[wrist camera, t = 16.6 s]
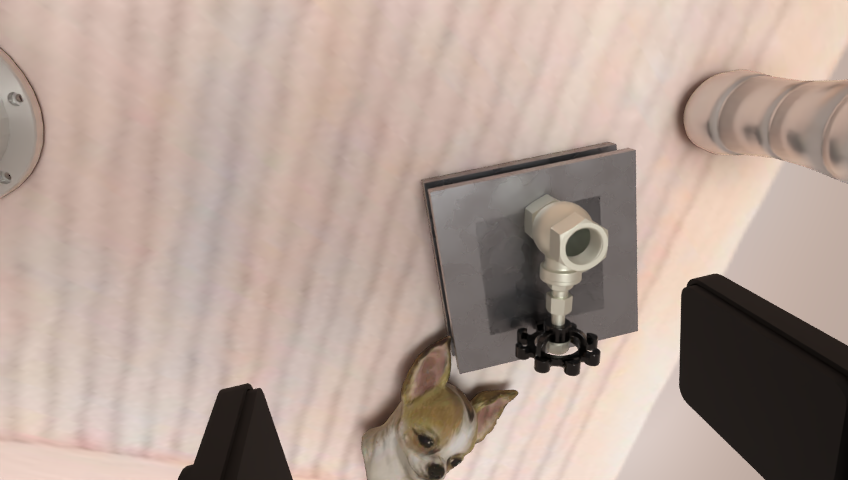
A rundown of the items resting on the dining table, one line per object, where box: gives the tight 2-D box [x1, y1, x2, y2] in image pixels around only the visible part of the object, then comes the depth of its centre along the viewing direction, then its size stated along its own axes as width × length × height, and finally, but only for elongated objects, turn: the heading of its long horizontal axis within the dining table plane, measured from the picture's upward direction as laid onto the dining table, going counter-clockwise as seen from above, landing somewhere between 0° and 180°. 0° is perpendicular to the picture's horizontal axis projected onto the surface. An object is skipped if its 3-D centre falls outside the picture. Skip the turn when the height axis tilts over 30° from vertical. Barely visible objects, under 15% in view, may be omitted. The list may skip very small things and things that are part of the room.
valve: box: [515, 194, 608, 376], centre depth 37 cm, size 7×7×12 cm
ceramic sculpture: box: [361, 336, 518, 480], centre depth 44 cm, size 11×9×15 cm
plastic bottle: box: [684, 70, 848, 183], centre depth 33 cm, size 6×7×20 cm
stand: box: [421, 142, 638, 374], centre depth 42 cm, size 16×16×4 cm
